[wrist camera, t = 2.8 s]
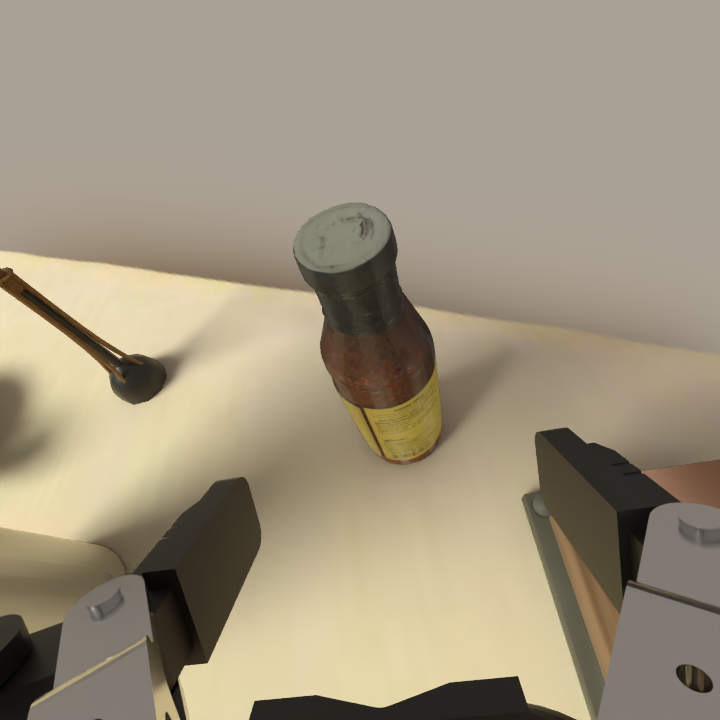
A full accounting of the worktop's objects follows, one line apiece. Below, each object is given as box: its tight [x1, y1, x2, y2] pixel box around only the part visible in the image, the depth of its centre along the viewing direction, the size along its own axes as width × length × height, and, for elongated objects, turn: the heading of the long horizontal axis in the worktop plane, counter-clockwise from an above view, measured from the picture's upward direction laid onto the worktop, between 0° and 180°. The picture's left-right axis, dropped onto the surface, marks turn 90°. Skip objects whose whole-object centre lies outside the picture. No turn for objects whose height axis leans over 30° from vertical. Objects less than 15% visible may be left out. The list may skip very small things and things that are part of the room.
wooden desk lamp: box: [0, 267, 167, 405], centre depth 30 cm, size 6×5×20 cm
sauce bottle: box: [293, 203, 442, 465], centre depth 23 cm, size 7×6×20 cm
